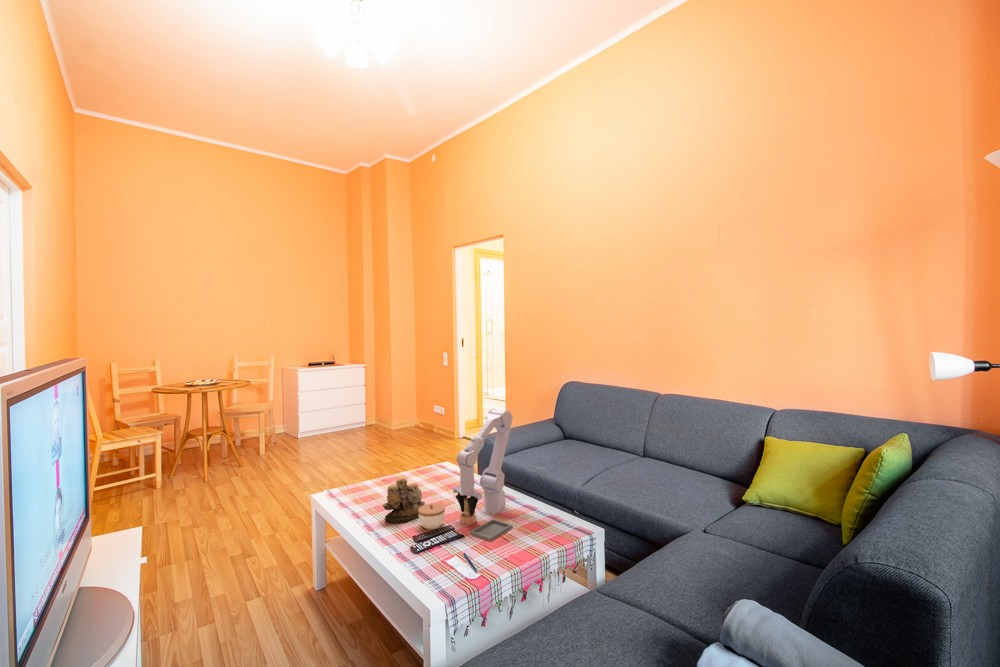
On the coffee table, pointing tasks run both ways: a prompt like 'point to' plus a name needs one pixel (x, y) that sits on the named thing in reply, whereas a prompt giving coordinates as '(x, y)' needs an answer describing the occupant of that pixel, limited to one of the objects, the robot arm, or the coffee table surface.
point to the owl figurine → (403, 502)
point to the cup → (467, 518)
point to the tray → (491, 529)
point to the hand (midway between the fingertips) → (468, 512)
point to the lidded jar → (431, 515)
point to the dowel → (466, 508)
